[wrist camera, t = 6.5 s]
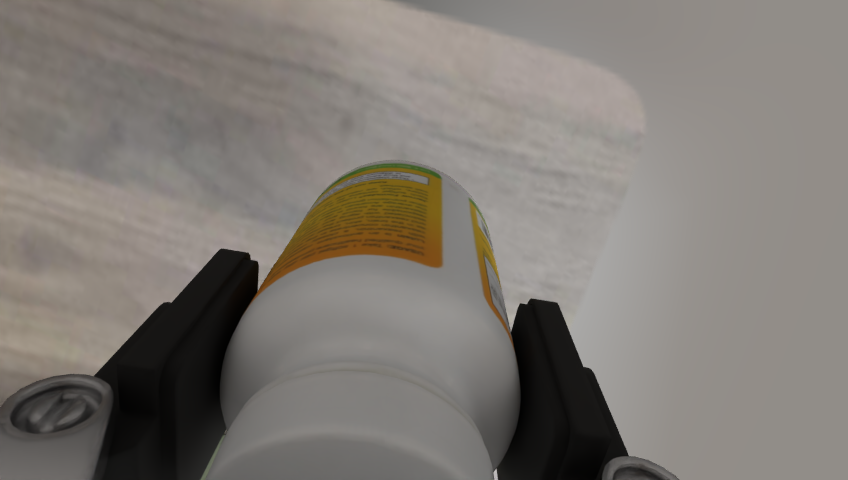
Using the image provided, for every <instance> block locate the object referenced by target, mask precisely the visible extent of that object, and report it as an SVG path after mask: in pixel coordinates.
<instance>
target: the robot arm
mask: <svg viewBox="0 0 848 480" xmlns="http://www.w3.org/2000/svg"><path fill="white" fill-rule="evenodd" d="M258 271H259V265H258V262H257V261H253V260H251V258H250V254H249V253H246V252H240V251H233V250H227V249H220V250H219V251H218V252H217V253H216V254H215V255H214V256H213V257H212V259H211V260H210V261H209V262H208V263H207V264H206V265H205V266H204V267H203V269H202V270H201V271H200V272H199V273H198V274H197V275H196V276H195V277H194V279H193V280H192V281H191V282H190V283H189V284H188V285H187V286H186V287H185V288H184V290H183V291H182V292H181V293H180V294H179V295H178V296H177V297H176V298H175V300H174V301H173V302H172V303H170V302H166V303H163V304H162V305H160V306H159V307H158V308H157V309H156V310H155V311H154V312H153V313H152V314H151V316H150V317H149V318H148V319H147V320H146V321H145V322H144V323H143V324H142V325H141V326H140V327H139V328H138V329H137V331H136V332H135V333H134V334H133V335H132V336H131V337H130V338H129V339H128V340H127V341H126V342H125V343H124V344H123V345H122V347H121V348H120V349H119V350H118V351H117V352H116V353H115V354H114V355H113V356H112V357H111V358H110V359H109V360H108V362H107V363H106V364H105V365H104V366H103V367H102V368H101V369H100V370H99V371H98V372H97V373H96V374H95V375H94V377H93V376H90V375H82V374H68V375H60V376H53V377H50V378H46V379H43V380H39V381H36V382H34V383H32V384H30V385H28V386H26V387H24V388H21V389H20V390H18V391H17V392H16V393H14V394H13V395H12V396H10V397H9V398H7V400H6V401H5V402H4V403H3V405H2V406H1V407H0V480H201V478H202V476H203V474H204V472H205V470H206V468H207V466H208V464H209V462H210V460H211V458H212V456H213V454H214V452H215V450H216V448H217V446H218V444H219V442H220V440H221V438H222V436H223V434H224V432H225V430H226V425H225V422H224V418H223V414H222V410H221V404H220V379H221V370H222V364H223V360H224V356H225V352H226V349H227V346H228V344H229V342H230V339H231V337H232V335H233V333H234V331H235V329H236V327H237V325H238V323H239V321H240V319H241V317H242V315H243V314H244V312H245V311H246V309H247V308H248V306H249V304H250V303H251V301H252V299H253V298H254V297H255V295H256V293H257V291H258ZM511 335H512V340H513V345H514V349H515V354H516V358H517V363H518V370H519V379H520V389H521V402H520V413H519V418H518V423H517V427H516V431H515V434H514V436H513V439H512V441H511V443H510V446H509V448H508V450H507V452H506V454H505V456H504V457H503V459H502V461H501V462H500V464H499V465H498V467H497V474H498V480H679V479H678V478H677V477H676V476H674V475H673V474H671V473H670V472H669V471H667V470H666V469H665V468H663V467H661V466H659V465H657V464H655V463H653V462H651V461H649V460H645V459H642V458H638V457H631V456H629V455H628V453H627V450H626V448H625V446H624V443H623V441H622V438H621V436H620V434H619V431H618V429H617V427H616V424H615V422H614V420H613V417H612V415H611V412H610V410H609V408H608V405H607V403H606V401H605V398H604V396H603V394H602V391H601V389H600V387H599V384H598V382H597V379H596V377H595V375H594V373H593V371H592V370H591V369H589V368H586V367H583V365H582V362H581V360H580V358H579V355H578V352H577V350H576V348H575V345H574V343H573V340H572V337H571V335H570V332H569V330H568V327H567V325H566V322H565V320H564V317H563V315H562V312H561V310H560V307H559V305H558V303H556V302H550V301H544V300H537V299H530V300H529V302H528V304H520V305H519V307H518V310H517V313H516V317H515V320H514V324H513V327H512V331H511Z"/></svg>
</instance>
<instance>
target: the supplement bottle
mask: <svg viewBox="0 0 848 480" xmlns="http://www.w3.org/2000/svg"><path fill="white" fill-rule="evenodd" d="M520 402H521V389H520V379H519V370H518V363H517V358H516V354H515V349H514V345H513V340H512V335H511V331H510V327H509V322H508V318H507V313H506V308H505V304H504V298H503V294H502V290H501V285H500V280H499V276H498V271H497V266H496V262H495V257H494V252H493V248H492V243H491V239H490V235H489V231H488V228H487V225H486V223H485V220H484V218H483V215H482V213H481V211H480V209H479V207H478V206H477V204H476V203H475V201H474V200H473V198H472V197H471V196H470V194H469V193H468V192H467V191H466V190H465V189H464V188H463V187H462V186H461V185H459V184H458V183H457V182H456V181H455V180H453V179H452V178H451V177H449V176H447V175H446V174H444V173H442V172H440V171H438V170H436V169H434V168H431V167H429V166H426V165H422V164H418V163H414V162H407V161H396V160H395V161H380V162H373V163H370V164H366V165H363V166H360V167H357V168H355V169H353V170H351V171H349V172H347V173H345V174H344V175H342V176H341V177H339V178H338V179H337V180H335V181H334V182H333V183H332V184H331V185H330V186H328V187H327V188H326V190H325V191H324V192H323V193H322V194H321V195H320V196H319V198H318V199H317V200H316V202H315V203H314V204H313V206H312V207H311V209H310V210H309V212H308V213H307V215H306V216H305V218H304V220H303V221H302V223H301V225H300V226H299V228H298V229H297V231H296V233H295V234H294V236H293V237H292V239H291V240H290V242H289V243H288V245H287V247H286V248H285V250H284V251H283V253H282V254H281V256H280V257H279V259H278V260H277V262H276V263H275V264H274V266H273V268H272V269H271V271H270V272H269V274H268V275H267V277H266V279H265V280H264V282H263V284H262V285H261V287H260V289H259V290H258V292H257V293H256V295H255V297H254V298H253V299H252V301H251V303H250V304H249V306H248V308H247V309H246V311H245V312H244V314H243V315H242V317H241V319H240V321H239V323H238V325H237V327H236V329H235V331H234V333H233V335H232V337H231V339H230V342H229V344H228V346H227V349H226V352H225V356H224V360H223V364H222V370H221V379H220V404H221V410H222V414H223V418H224V422H225V425H226V428H227V433H226V435H225V437H224V439H223V441H222V443H221V446H220V448H219V450H218V452H217V454H216V457H215V459H214V461H213V463H212V465H211V468H210V470H209V472H208V474H207V477H206V479H205V480H494V475H493V472H494V471H495V469H496V468H497V467H498V465H499V464H500V462H501V461H502V459H503V457H504V456H505V454H506V452H507V450H508V448H509V446H510V443H511V441H512V439H513V436H514V434H515V431H516V427H517V423H518V418H519V413H520Z"/></svg>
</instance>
